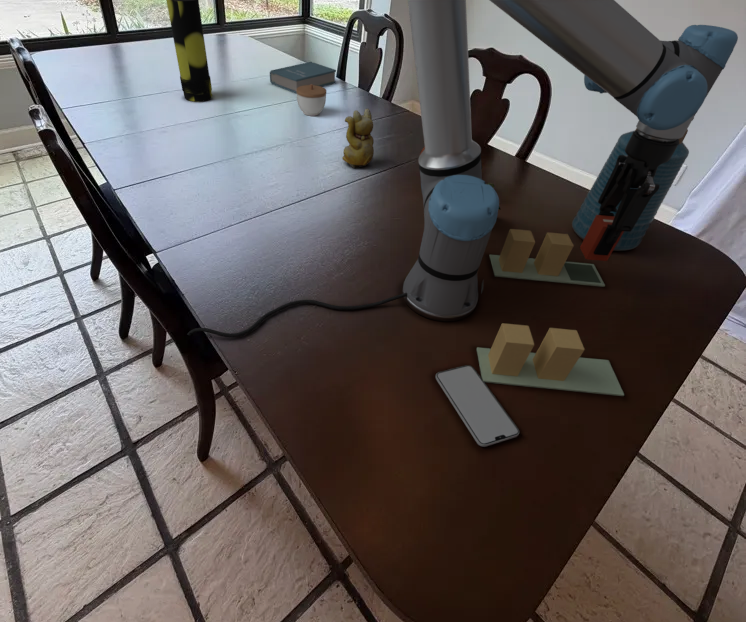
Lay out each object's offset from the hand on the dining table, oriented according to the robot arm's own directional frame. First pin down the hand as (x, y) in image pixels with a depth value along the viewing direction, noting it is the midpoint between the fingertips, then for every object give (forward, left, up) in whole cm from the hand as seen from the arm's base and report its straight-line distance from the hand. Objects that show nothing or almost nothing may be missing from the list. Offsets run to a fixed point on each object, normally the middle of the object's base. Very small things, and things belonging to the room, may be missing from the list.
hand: (596, 246), depth 94 cm
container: (-117, +93, -7) cm, 150 cm away
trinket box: (-73, +87, -7) cm, 114 cm away
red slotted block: (0, 0, -2) cm, 2 cm away
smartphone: (-29, -40, -7) cm, 50 cm away
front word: (-15, -31, -7) cm, 35 cm away
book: (-81, +121, -7) cm, 146 cm away
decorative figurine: (-53, +47, -7) cm, 71 cm away
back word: (-8, 0, -7) cm, 11 cm away
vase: (+11, +18, -7) cm, 22 cm away
